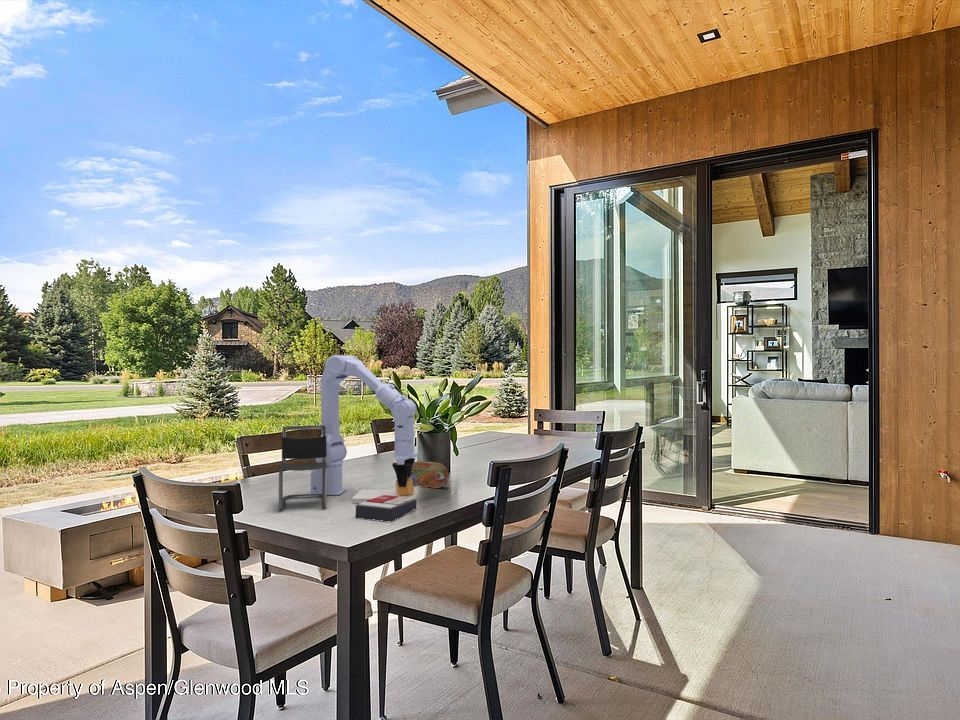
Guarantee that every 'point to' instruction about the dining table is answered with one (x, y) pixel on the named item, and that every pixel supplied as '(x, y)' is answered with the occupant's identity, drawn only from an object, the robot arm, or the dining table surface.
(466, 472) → the dining table surface
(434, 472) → the tin
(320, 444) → the chair
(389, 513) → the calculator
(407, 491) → the wooden cylinder block
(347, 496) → the dining table surface
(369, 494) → the junction board
